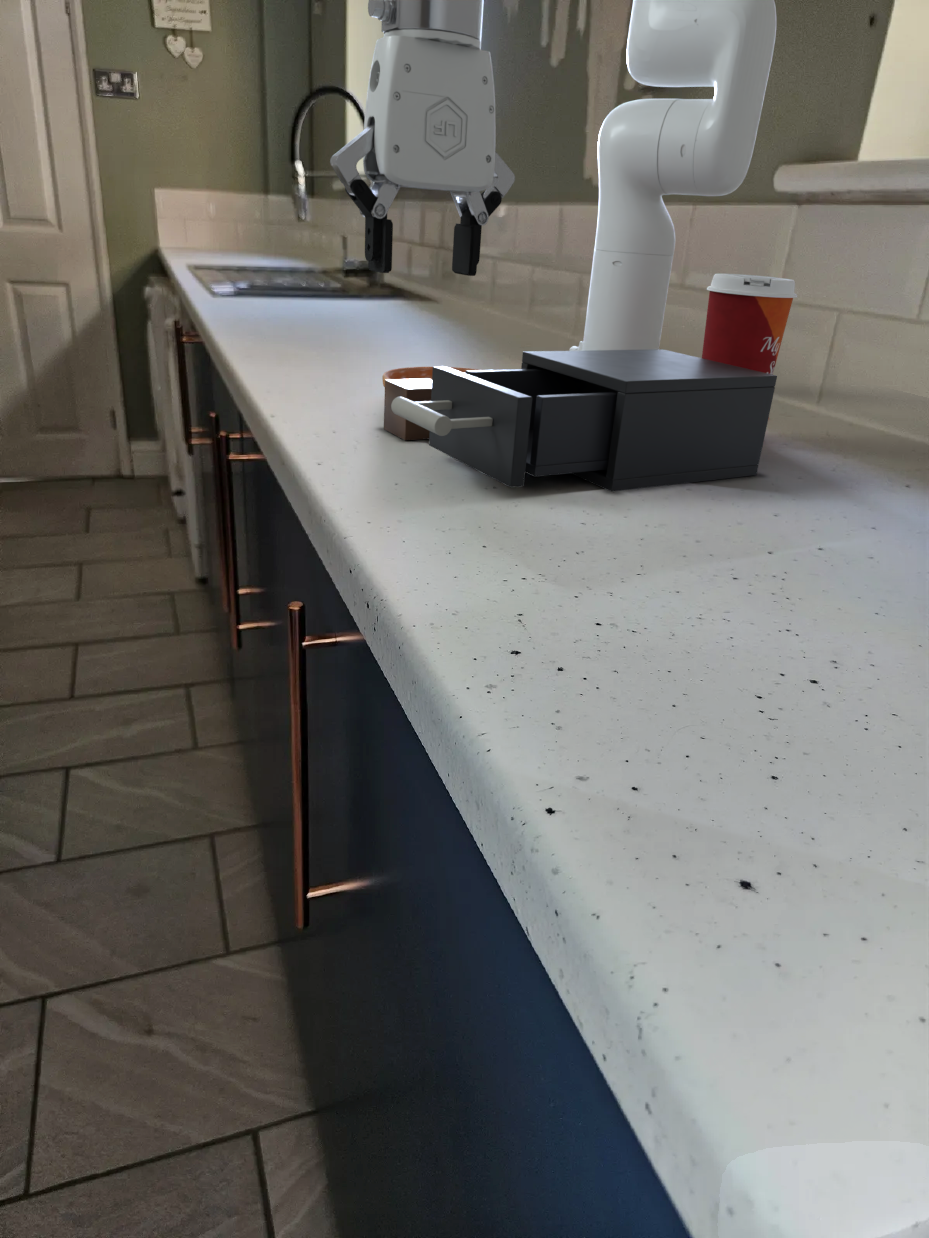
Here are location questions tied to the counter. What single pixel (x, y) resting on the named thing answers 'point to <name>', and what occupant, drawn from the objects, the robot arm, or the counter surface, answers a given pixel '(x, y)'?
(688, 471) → the dark grey drawer cabinet
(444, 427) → the drawer
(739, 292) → the coffee cup
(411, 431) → the block
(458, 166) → the robot arm
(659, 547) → the counter surface
